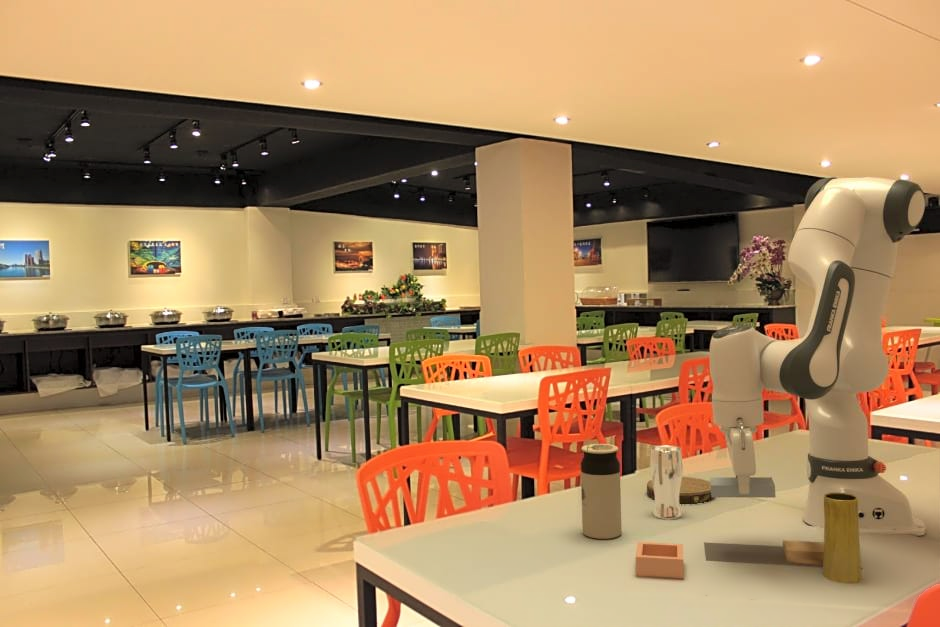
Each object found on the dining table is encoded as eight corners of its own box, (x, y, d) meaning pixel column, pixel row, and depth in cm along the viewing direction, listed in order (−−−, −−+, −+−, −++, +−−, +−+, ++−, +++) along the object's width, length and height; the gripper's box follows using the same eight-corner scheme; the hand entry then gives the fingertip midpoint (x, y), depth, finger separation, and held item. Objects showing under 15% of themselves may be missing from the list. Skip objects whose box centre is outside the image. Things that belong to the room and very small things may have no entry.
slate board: (772, 488, 143) (771, 477, 143) (775, 497, 137) (774, 485, 137) (710, 488, 146) (709, 477, 146) (711, 497, 140) (710, 485, 140)
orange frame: (683, 566, 138) (682, 544, 138) (684, 582, 131) (683, 559, 131) (638, 563, 140) (637, 541, 140) (636, 579, 133) (635, 556, 133)
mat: (849, 553, 142) (849, 549, 142) (862, 572, 133) (862, 569, 133) (703, 545, 149) (703, 542, 149) (706, 563, 139) (705, 560, 139)
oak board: (847, 555, 139) (847, 543, 139) (854, 566, 134) (854, 553, 134) (783, 552, 142) (782, 540, 142) (787, 562, 137) (787, 550, 137)
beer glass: (685, 520, 165) (683, 451, 165) (651, 519, 166) (650, 451, 166) (682, 511, 172) (681, 445, 171) (650, 510, 173) (649, 444, 173)
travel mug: (624, 529, 160) (621, 444, 160) (618, 541, 153) (616, 452, 152) (586, 526, 163) (584, 442, 162) (579, 538, 155) (576, 450, 155)
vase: (815, 574, 133) (813, 492, 132) (849, 572, 133) (847, 490, 133) (835, 587, 126) (833, 502, 126) (870, 585, 127) (869, 500, 127)
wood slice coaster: (714, 489, 190) (713, 477, 190) (716, 507, 175) (716, 494, 175) (648, 487, 195) (648, 475, 194) (645, 504, 179) (645, 491, 179)
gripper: (761, 424, 130) (766, 504, 131) (751, 404, 150) (755, 473, 150) (722, 425, 132) (728, 504, 132) (717, 405, 152) (722, 474, 152)
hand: (742, 487), depth 142 cm, fingers closed on slate board, 5 cm apart
